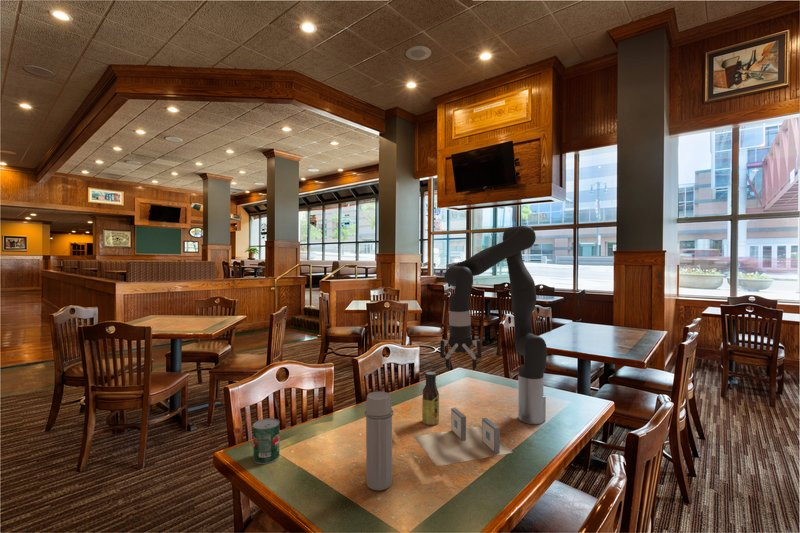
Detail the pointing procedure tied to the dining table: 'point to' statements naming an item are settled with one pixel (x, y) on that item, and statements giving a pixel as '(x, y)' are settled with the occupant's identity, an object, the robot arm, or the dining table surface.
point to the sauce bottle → (430, 401)
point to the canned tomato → (266, 441)
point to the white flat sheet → (457, 447)
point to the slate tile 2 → (491, 435)
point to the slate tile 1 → (458, 424)
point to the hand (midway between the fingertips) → (461, 369)
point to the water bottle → (379, 440)
